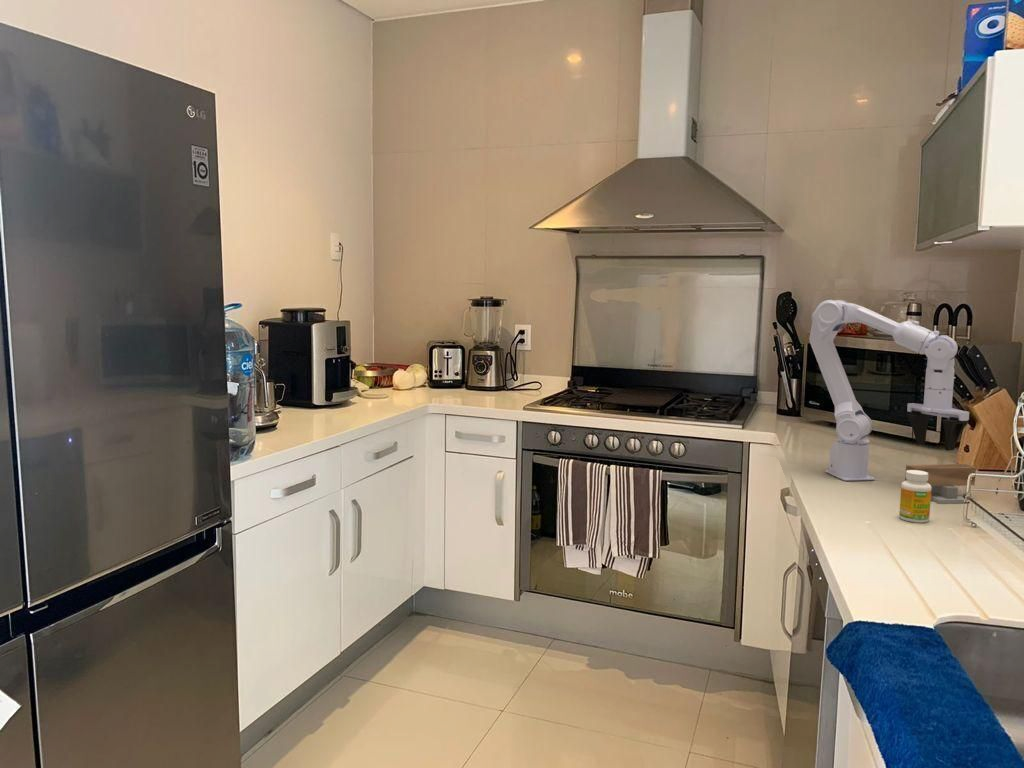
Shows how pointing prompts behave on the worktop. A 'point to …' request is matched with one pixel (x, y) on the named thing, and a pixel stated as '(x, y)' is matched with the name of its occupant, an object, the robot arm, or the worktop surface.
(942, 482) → the beam
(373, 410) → the worktop surface
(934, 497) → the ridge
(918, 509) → the supplement bottle
